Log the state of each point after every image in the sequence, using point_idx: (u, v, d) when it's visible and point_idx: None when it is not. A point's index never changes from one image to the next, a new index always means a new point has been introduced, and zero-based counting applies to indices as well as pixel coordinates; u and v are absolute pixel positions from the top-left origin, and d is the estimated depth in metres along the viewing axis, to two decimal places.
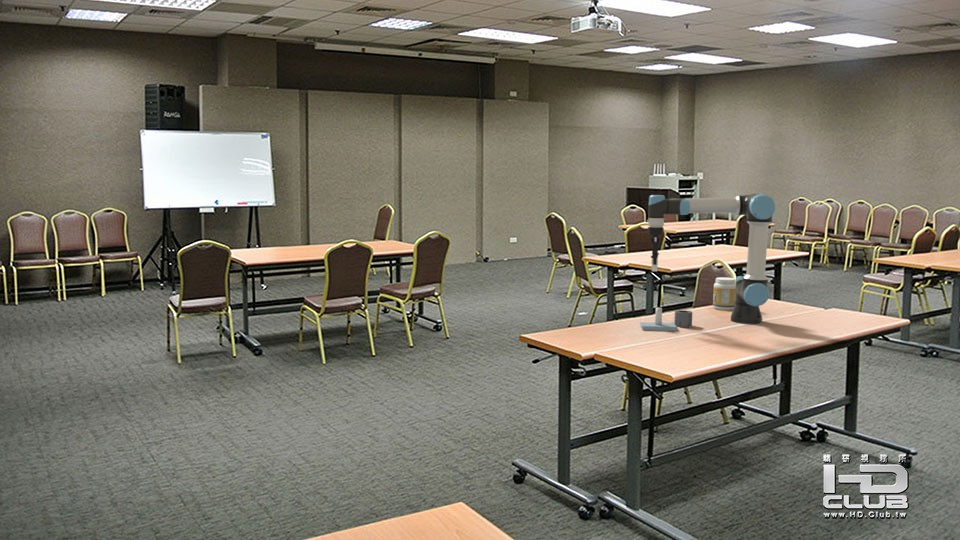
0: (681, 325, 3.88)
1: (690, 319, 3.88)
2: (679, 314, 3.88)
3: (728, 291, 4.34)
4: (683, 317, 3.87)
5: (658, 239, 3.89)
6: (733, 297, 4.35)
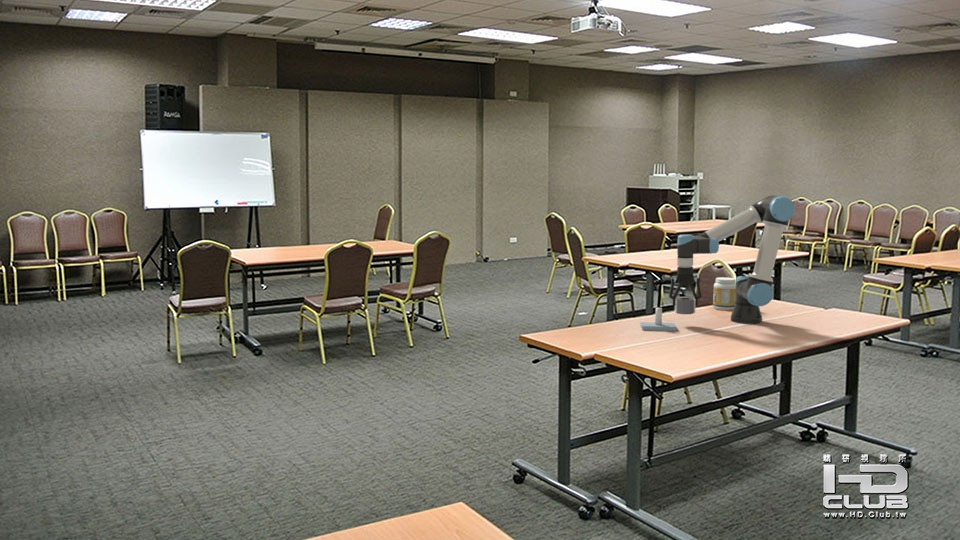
0: (683, 312, 3.87)
1: (692, 306, 3.88)
2: (681, 301, 3.87)
3: (728, 291, 4.34)
4: (685, 304, 3.86)
5: (681, 279, 3.88)
6: (733, 297, 4.35)
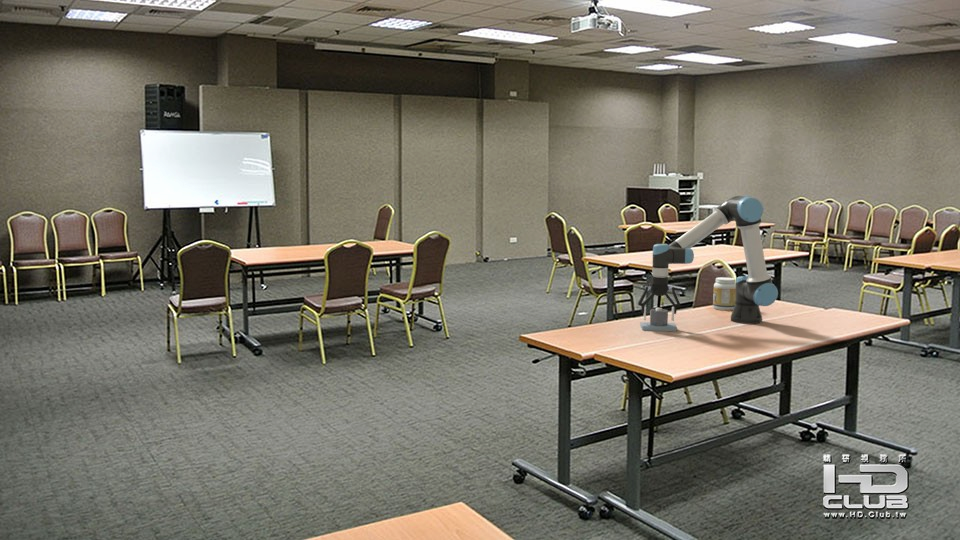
0: (656, 324, 3.80)
1: (666, 318, 3.81)
2: (654, 313, 3.80)
3: (728, 291, 4.34)
4: (658, 316, 3.79)
5: (656, 289, 3.80)
6: (733, 297, 4.35)
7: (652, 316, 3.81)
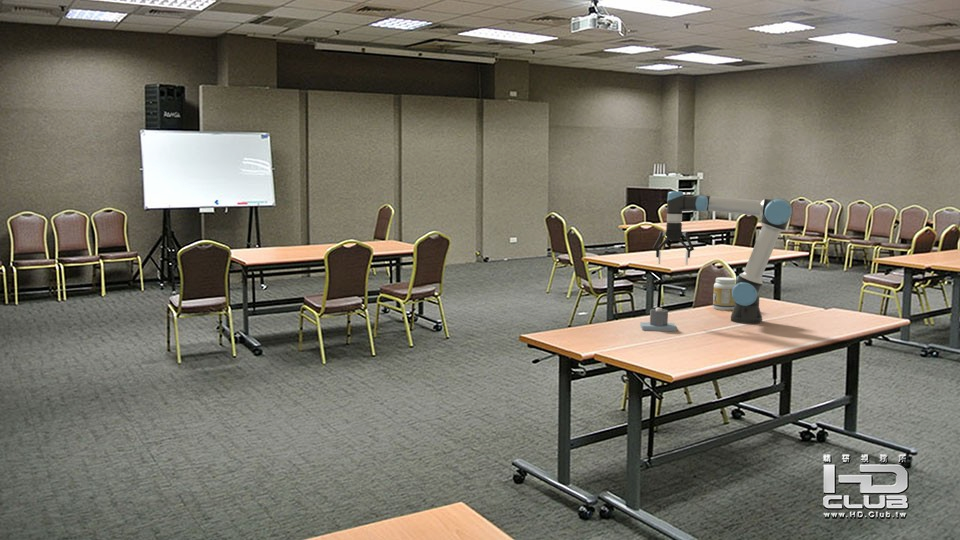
0: (656, 324, 3.80)
1: (666, 318, 3.81)
2: (654, 313, 3.80)
3: (728, 291, 4.34)
4: (658, 316, 3.79)
5: (670, 234, 4.00)
6: None
7: (652, 316, 3.81)
